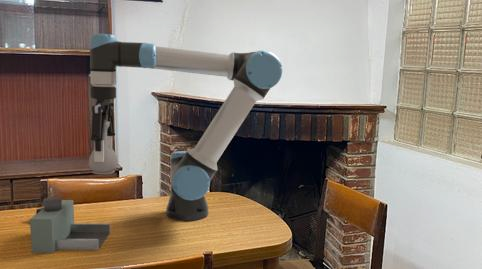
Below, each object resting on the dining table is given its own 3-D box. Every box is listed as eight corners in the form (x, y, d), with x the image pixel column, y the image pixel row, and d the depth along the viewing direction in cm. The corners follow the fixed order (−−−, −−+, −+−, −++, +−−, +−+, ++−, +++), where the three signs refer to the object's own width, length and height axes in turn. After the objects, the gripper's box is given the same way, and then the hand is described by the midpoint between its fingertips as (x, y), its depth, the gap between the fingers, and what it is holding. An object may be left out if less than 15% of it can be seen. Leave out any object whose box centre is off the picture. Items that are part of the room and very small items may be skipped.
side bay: (110, 232, 144) (110, 223, 143) (97, 250, 130) (97, 240, 130) (72, 232, 143) (72, 223, 143) (55, 250, 130) (55, 240, 129)
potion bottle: (112, 175, 137) (112, 117, 134) (84, 174, 137) (83, 115, 135) (121, 169, 146) (122, 114, 143) (95, 168, 146) (94, 112, 143)
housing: (74, 229, 145) (72, 190, 143) (53, 252, 128) (50, 208, 126) (55, 229, 145) (53, 190, 143) (31, 252, 127) (29, 208, 125)
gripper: (101, 83, 148) (102, 152, 151) (78, 86, 127) (79, 165, 131) (124, 84, 148) (124, 153, 151) (105, 87, 127) (105, 166, 131)
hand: (103, 158), depth 141 cm, fingers closed on potion bottle, 8 cm apart
